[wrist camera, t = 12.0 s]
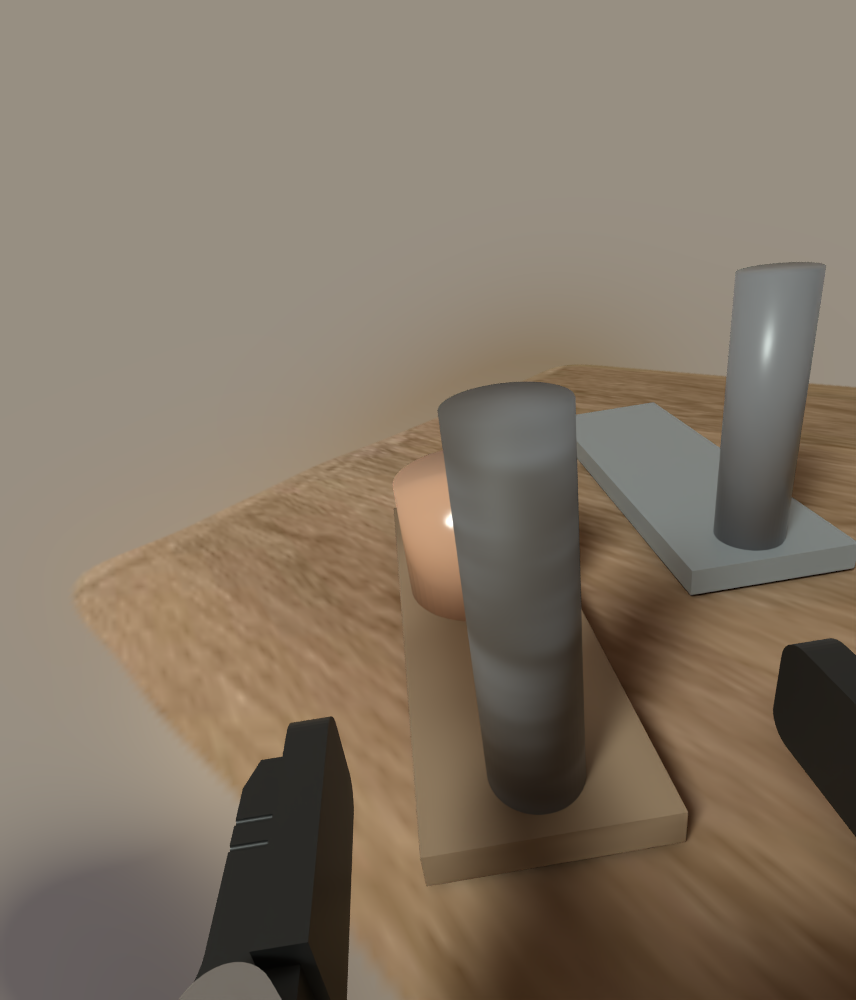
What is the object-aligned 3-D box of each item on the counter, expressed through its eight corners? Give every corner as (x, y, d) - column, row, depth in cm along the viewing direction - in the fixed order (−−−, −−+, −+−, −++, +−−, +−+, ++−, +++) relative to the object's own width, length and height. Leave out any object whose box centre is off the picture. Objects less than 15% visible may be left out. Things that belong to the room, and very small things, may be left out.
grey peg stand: (653, 418, 43) (659, 234, 38) (854, 568, 25) (920, 258, 20) (557, 433, 43) (549, 251, 38) (690, 595, 25) (712, 290, 20)
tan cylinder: (530, 533, 29) (523, 436, 27) (566, 607, 24) (562, 494, 21) (407, 553, 29) (390, 458, 27) (415, 632, 23) (395, 521, 21)
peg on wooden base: (519, 507, 34) (501, 281, 28) (685, 841, 16) (723, 403, 11) (397, 527, 34) (356, 303, 28) (426, 886, 16) (330, 467, 10)
